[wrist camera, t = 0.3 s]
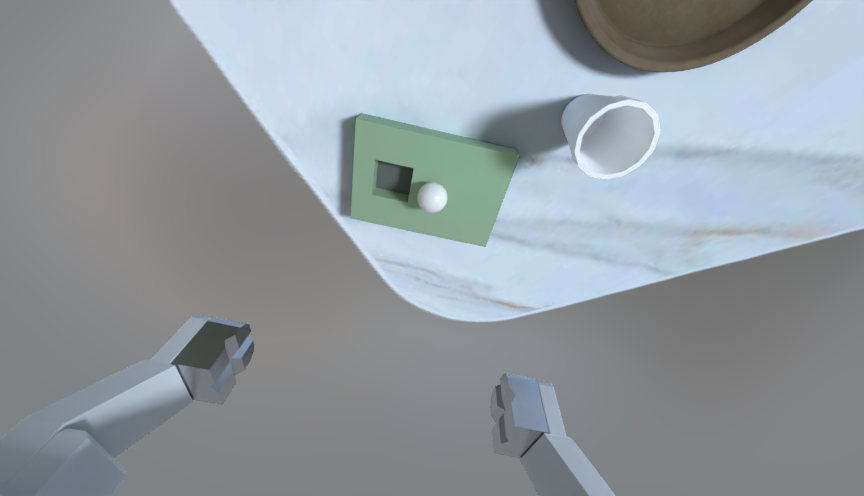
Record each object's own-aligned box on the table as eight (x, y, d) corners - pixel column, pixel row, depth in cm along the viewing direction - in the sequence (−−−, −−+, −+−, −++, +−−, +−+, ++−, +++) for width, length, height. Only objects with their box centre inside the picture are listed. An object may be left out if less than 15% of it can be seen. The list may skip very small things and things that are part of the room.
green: (361, 113, 50) (355, 118, 47) (516, 149, 52) (519, 156, 49) (355, 209, 61) (350, 218, 58) (484, 236, 62) (485, 246, 59)
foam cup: (629, 110, 47) (677, 134, 36) (578, 158, 52) (608, 192, 41) (587, 67, 44) (625, 81, 34) (537, 122, 49) (558, 149, 38)
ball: (421, 174, 52) (418, 187, 48) (451, 181, 52) (449, 194, 48) (416, 200, 55) (413, 214, 51) (444, 206, 55) (443, 221, 51)
